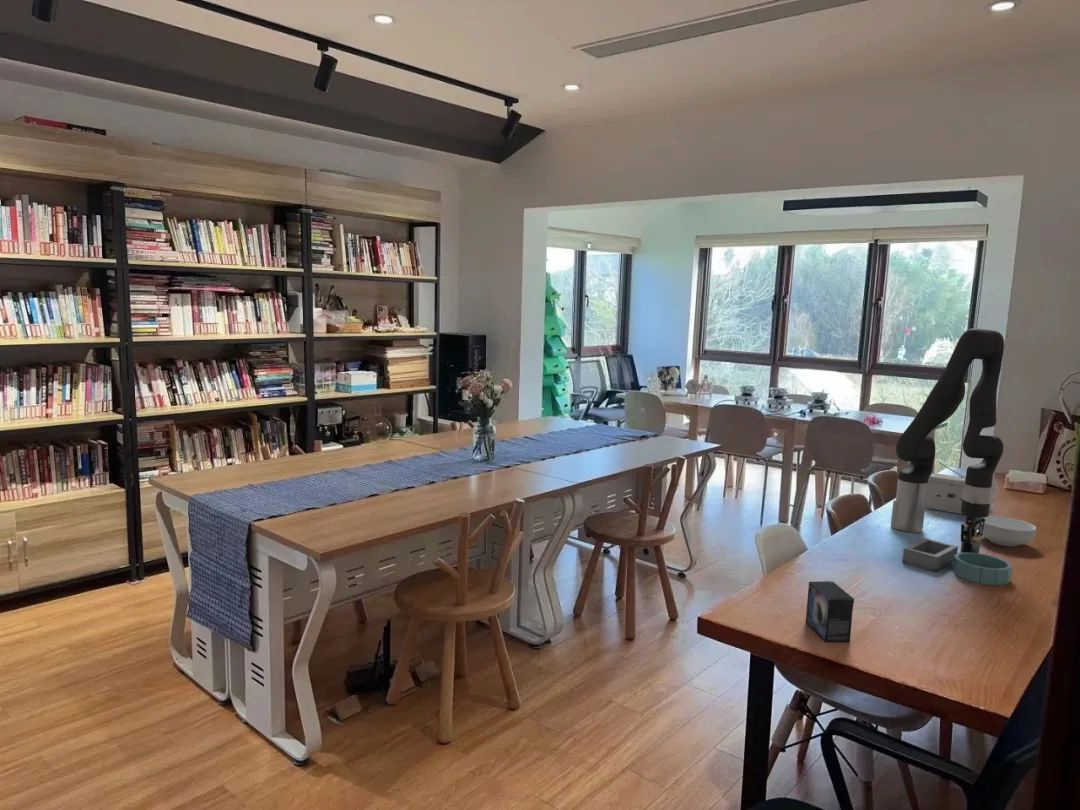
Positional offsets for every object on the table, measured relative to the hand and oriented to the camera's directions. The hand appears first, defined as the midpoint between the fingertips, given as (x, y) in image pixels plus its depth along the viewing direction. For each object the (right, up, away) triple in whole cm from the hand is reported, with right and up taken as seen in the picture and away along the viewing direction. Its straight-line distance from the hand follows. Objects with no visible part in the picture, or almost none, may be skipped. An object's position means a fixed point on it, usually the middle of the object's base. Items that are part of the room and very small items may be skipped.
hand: (969, 552), depth 228 cm
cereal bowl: (+21, 0, +16) cm, 26 cm away
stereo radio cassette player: (+24, +5, +52) cm, 58 cm away
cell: (0, -1, 0) cm, 1 cm away
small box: (-66, -7, -56) cm, 87 cm away
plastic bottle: (+26, +3, +37) cm, 45 cm away
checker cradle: (-15, -2, -5) cm, 16 cm away
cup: (-6, -4, -16) cm, 17 cm away
